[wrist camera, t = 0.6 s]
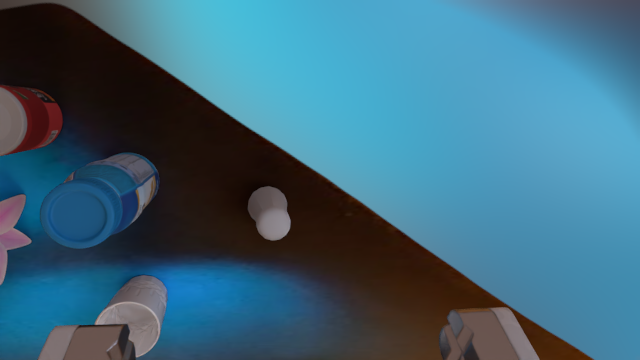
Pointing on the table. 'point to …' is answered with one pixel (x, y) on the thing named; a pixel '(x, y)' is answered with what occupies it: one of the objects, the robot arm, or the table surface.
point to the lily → (10, 229)
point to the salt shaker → (269, 212)
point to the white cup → (138, 311)
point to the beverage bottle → (99, 200)
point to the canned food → (27, 119)
